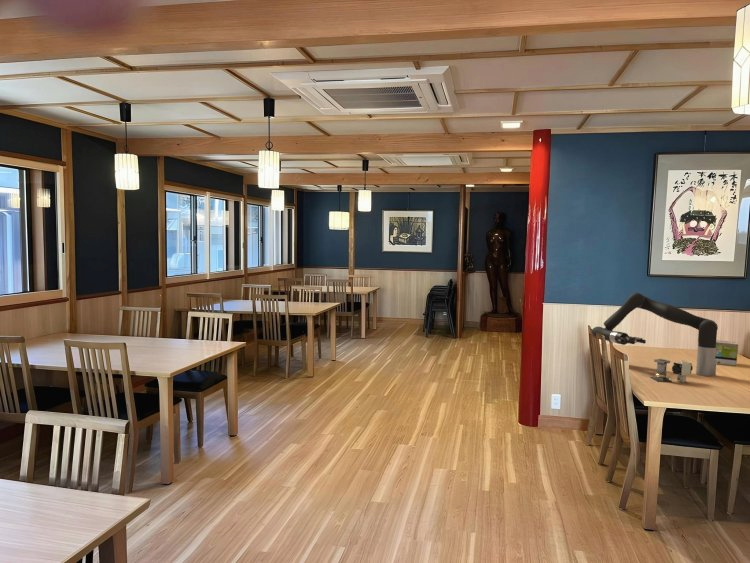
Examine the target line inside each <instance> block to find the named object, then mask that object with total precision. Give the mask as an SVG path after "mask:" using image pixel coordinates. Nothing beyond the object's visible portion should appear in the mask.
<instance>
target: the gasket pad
mask: <svg viewBox="0 0 750 563" xmlns="http://www.w3.org/2000/svg"><path fill="white" fill-rule="evenodd" d="M650 379H651V380H653V381H655V380H656V381H655V382H657V383H658V382H661V383H662V382H663V383H672V382H673V381H672V380H670V379H669V380H665V381H661V380H657V379H653V376H652V377H651V376H650Z"/></svg>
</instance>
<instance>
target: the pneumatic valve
mask: <svg viewBox="0 0 750 563" xmlns="http://www.w3.org/2000/svg"><path fill="white" fill-rule="evenodd" d="M693 368H694V367H693V363H692V362H689V361H688V362H687V361H684V360H682V361H677V362H673V365H672V366H671V371H672V374H674V375H677V376H676V377H677V378H676V382H679V383H686V382H687V375H692V372H693Z"/></svg>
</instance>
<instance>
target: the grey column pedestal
mask: <svg viewBox="0 0 750 563" xmlns="http://www.w3.org/2000/svg"><path fill="white" fill-rule="evenodd" d="M653 362H654V363H657V364H656V372H655V375H653V376H652V377H653V379H657V380H661V381H665V380H670V377H668V376H667V375H668V374H667V369H668V368H667V366H668V364H670V363H671V360H668V359H663V358H657V359H653ZM653 379H652V380H653Z"/></svg>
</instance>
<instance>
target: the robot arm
mask: <svg viewBox="0 0 750 563" xmlns="http://www.w3.org/2000/svg"><path fill="white" fill-rule="evenodd" d="M636 309H641V310H644V311H648V312H650V313H652V314H654V315H656V316H657V317H660V318H662V319H664V320H667V321H670V322H672V323H676V324H680V325H684V326H688V327H691V328H694V329H696V330H697V331H698V334H697V336H698V338H697V353H696V354H697V356H696V369H695V374H696V375H698V376H702V377H703V376H704V377H716V375H717V374H716V373H717V364H716V362H717V361H716V360H715V353H716V340H717V335H718V329H719V328H718V326H719V325H718V324H717V322H716V321H714V320H712V319H708V318H704V317H702V316H699V315H695V314H692V313H691V312H688V311H686V310H685V309H682V308H679V307H676V306H674V305H671V304H668V303H664V302H660V301H656V300H653V299H651V298H649V297H648V296H645V295H643V294H641V293H640V292H634V293H631V294H630V295H629V297H628V298H627V300H626V301H625V302H624V303H623V304H622V305H621V307H619V308H618V309H617V310H615V312H613V313H612V314H611V315H610V316H609V317H608V318H607V319H606V320H605V321H604V322H603V326H604V327H602V326H595V327H593V328H592V330H591V334H592V335H593V337H595V338H596V333H599V334H602V335H604V336H605V340H604V341H606V342H612V343H614V344H617V345H621V346H625V345H628V344H631V345H635V344H637V343H639V344H647V343H646V342H647V341H646V339H643V337H637V336H630V335H629V334H628V333H627V332H623V331H617V330H616V331H614V329H615V328H616V327H617V326H618V325H620V324H621V323H622V322H623V321H624V319H626V317H627V316H628V315H629V314H630V313H631V312H633V311H634V310H636Z"/></svg>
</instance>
